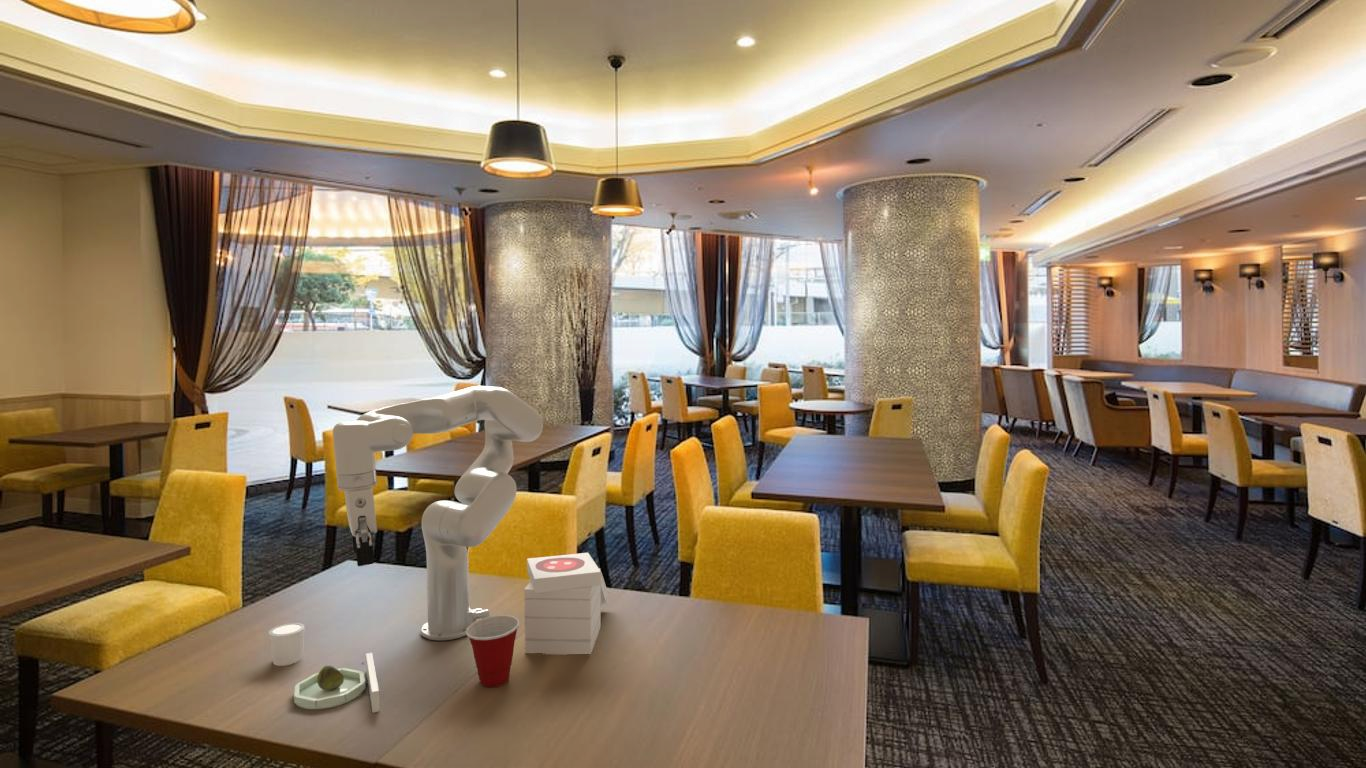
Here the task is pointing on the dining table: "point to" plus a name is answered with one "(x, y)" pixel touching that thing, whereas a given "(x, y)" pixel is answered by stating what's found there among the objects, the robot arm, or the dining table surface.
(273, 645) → the white cylinder
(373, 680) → the fence
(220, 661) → the dining table surface
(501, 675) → the plastic cup
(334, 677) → the lime
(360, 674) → the dish
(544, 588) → the pizza boxes
